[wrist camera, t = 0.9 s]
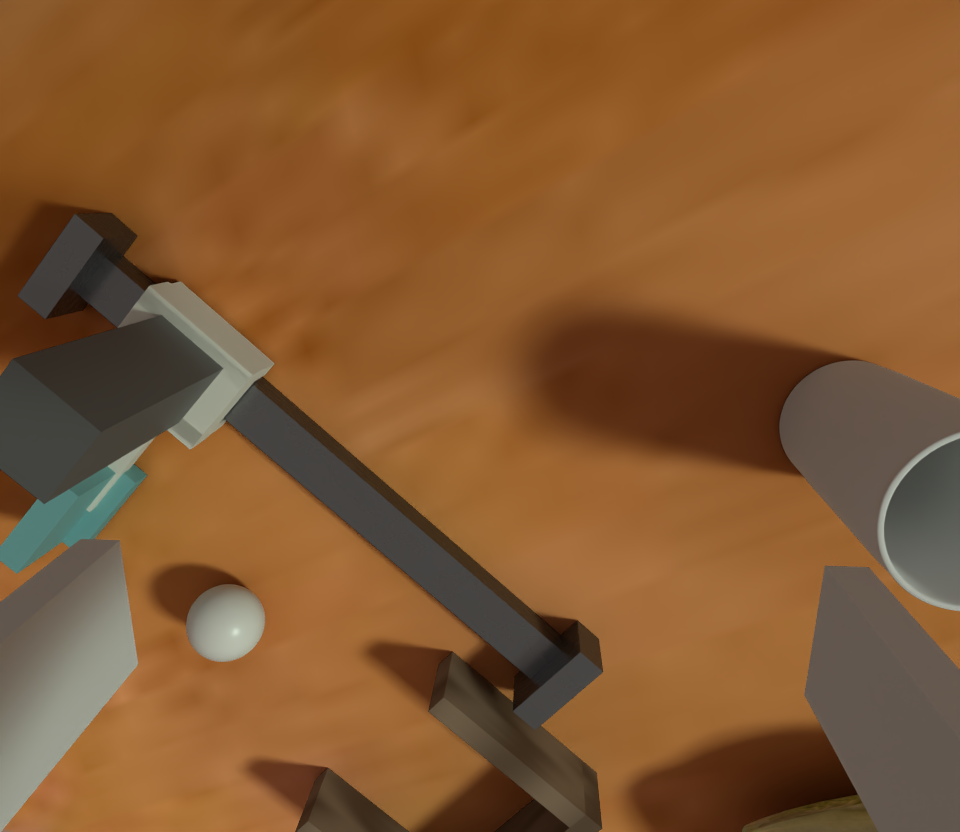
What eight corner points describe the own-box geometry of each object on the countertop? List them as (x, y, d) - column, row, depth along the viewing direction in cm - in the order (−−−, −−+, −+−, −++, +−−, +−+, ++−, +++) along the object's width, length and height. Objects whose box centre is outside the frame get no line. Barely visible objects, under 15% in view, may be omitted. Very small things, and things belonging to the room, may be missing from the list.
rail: (57, 288, 38) (17, 295, 35) (111, 213, 36) (74, 213, 34) (535, 694, 42) (535, 730, 39) (598, 638, 41) (603, 672, 38)
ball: (192, 603, 42) (157, 643, 38) (233, 557, 41) (202, 593, 37) (247, 647, 43) (218, 691, 39) (289, 603, 42) (264, 643, 38)
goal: (315, 779, 45) (294, 833, 41) (452, 651, 42) (443, 697, 38) (454, 888, 46) (446, 950, 42) (596, 772, 43) (602, 828, 39)
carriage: (22, 487, 41) (-216, 617, 28) (182, 278, 37) (-7, 318, 24) (110, 558, 41) (-82, 715, 29) (276, 360, 38) (141, 441, 25)
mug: (747, 456, 37) (839, 569, 26) (813, 332, 35) (943, 394, 24) (931, 529, 38) (1103, 673, 26) (1006, 410, 36) (1226, 508, 24)
